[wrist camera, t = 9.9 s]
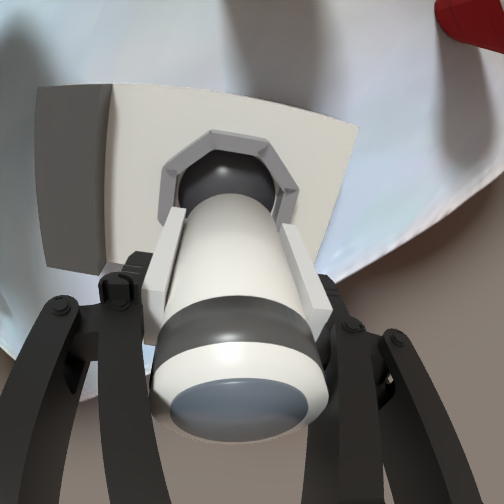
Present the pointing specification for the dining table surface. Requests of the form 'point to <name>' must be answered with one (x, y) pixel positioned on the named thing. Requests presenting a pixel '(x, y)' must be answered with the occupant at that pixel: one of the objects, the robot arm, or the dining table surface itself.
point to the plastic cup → (473, 22)
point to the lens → (234, 333)
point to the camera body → (174, 165)
